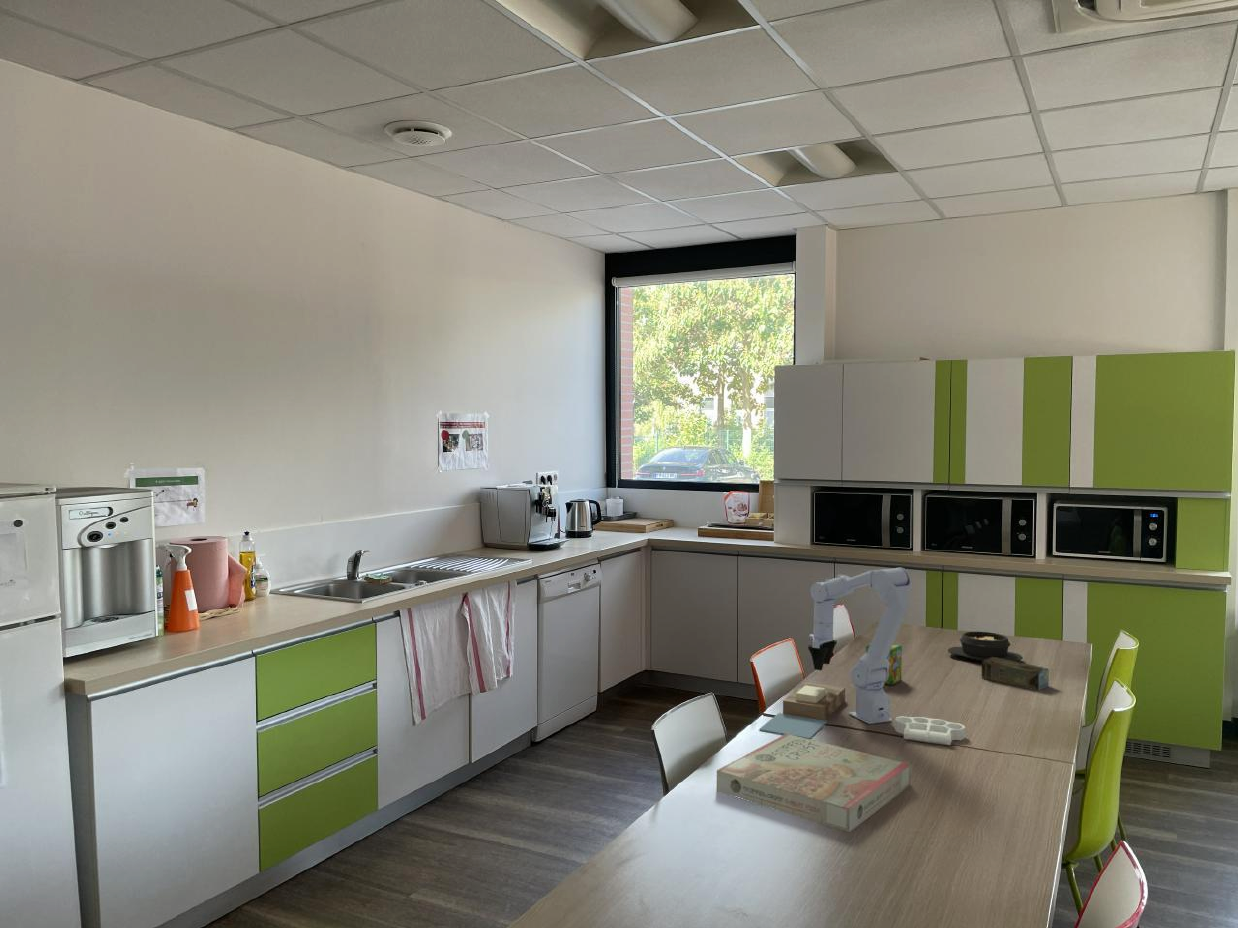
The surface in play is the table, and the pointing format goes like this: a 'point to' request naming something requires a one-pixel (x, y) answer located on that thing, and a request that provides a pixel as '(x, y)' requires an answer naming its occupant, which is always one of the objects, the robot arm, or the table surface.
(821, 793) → the pizza box
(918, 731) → the knuckle duster
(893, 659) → the chalk box
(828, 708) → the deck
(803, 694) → the tile
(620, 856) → the table surface
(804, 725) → the mat
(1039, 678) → the beverage carton
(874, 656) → the robot arm
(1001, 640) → the casserole
